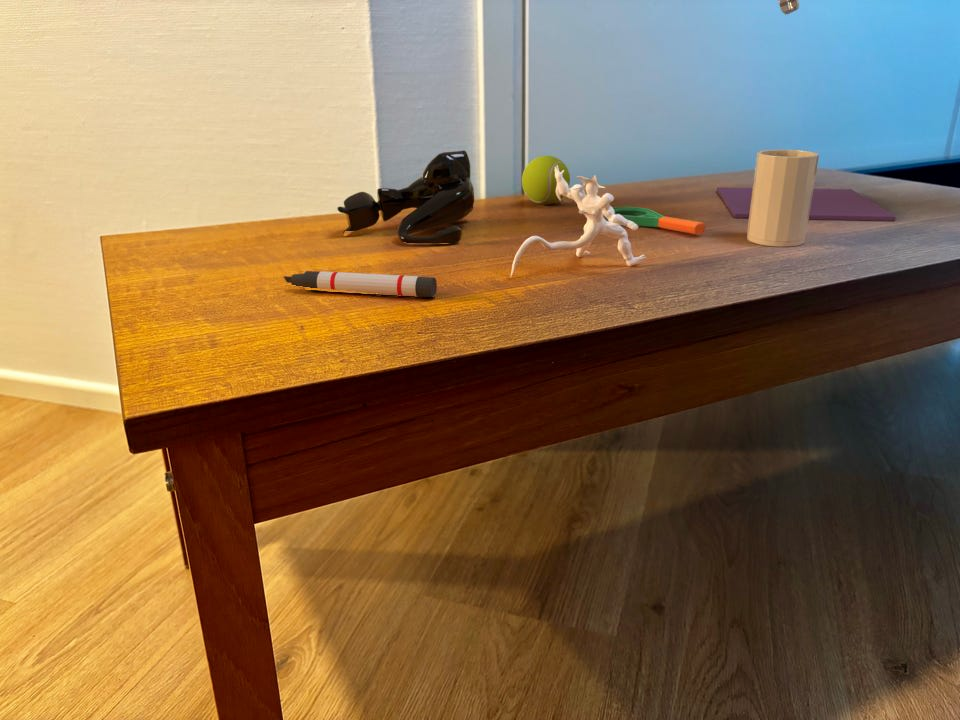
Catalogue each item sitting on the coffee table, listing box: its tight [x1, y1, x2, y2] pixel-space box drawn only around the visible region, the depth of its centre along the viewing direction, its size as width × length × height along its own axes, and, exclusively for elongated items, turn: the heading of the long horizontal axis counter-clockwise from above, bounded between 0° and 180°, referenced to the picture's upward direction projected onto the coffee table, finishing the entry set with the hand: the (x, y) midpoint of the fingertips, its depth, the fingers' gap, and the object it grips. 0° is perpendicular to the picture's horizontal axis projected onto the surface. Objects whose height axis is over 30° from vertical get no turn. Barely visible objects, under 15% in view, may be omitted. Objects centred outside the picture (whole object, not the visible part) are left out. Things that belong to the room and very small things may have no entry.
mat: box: [716, 186, 897, 222], centre depth 106 cm, size 20×20×1 cm
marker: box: [283, 270, 438, 298], centre depth 70 cm, size 15×2×2 cm, turn 77°
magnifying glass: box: [604, 206, 706, 236], centre depth 94 cm, size 15×6×2 cm, turn 35°
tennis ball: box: [521, 155, 571, 206], centre depth 108 cm, size 7×7×7 cm
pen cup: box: [746, 149, 820, 248], centre depth 85 cm, size 6×6×10 cm
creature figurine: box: [509, 165, 647, 279], centre depth 75 cm, size 12×11×12 cm
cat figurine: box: [336, 150, 475, 244], centre depth 91 cm, size 10×14×18 cm
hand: (782, 2), depth 82 cm, fingers open, 8 cm apart
